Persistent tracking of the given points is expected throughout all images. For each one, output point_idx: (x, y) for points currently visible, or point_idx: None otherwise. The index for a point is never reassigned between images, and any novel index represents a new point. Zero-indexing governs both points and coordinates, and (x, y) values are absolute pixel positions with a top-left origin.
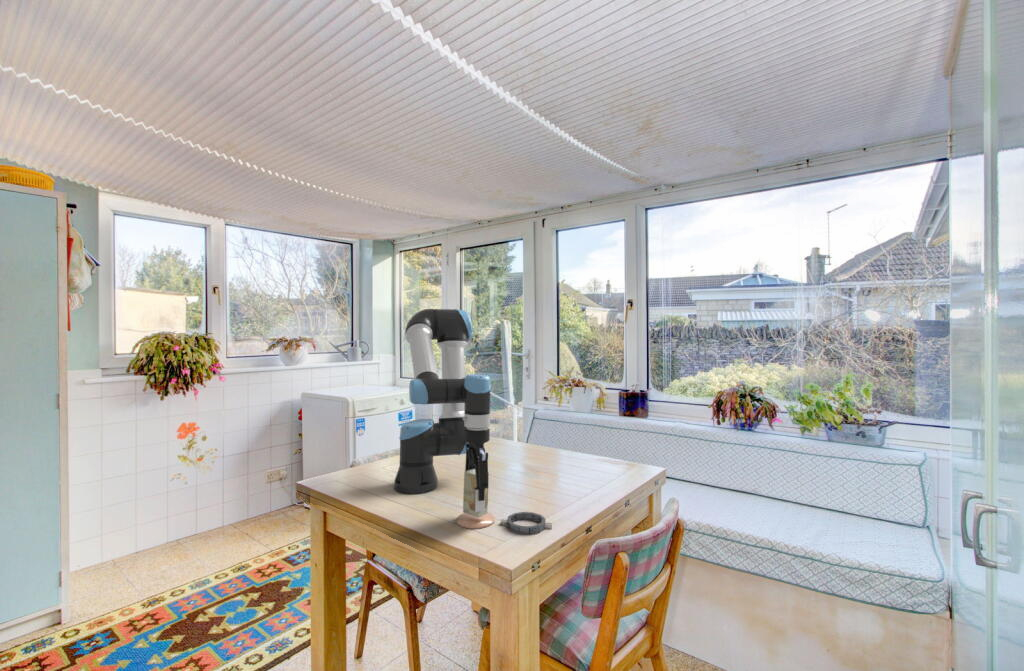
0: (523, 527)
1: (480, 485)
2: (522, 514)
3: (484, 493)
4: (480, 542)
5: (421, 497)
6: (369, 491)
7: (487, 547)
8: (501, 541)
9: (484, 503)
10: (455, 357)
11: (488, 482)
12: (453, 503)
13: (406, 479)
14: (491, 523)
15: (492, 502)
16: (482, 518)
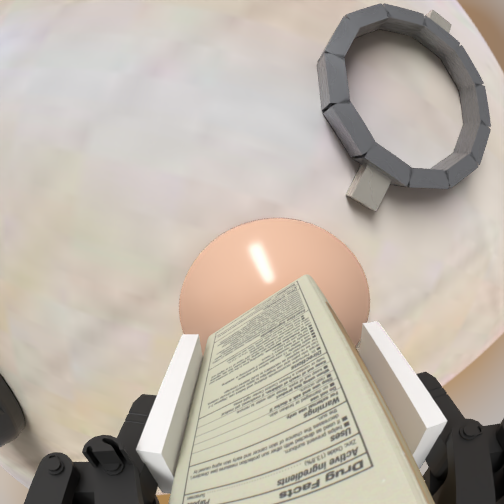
0: (483, 149)
1: (502, 470)
2: (343, 67)
3: (453, 403)
4: (455, 327)
5: (36, 405)
6: (33, 460)
7: (485, 311)
8: (481, 256)
9: (395, 350)
10: None
11: (382, 412)
12: (67, 343)
13: (3, 442)
14: (353, 254)
15: (68, 169)
16: (285, 285)
